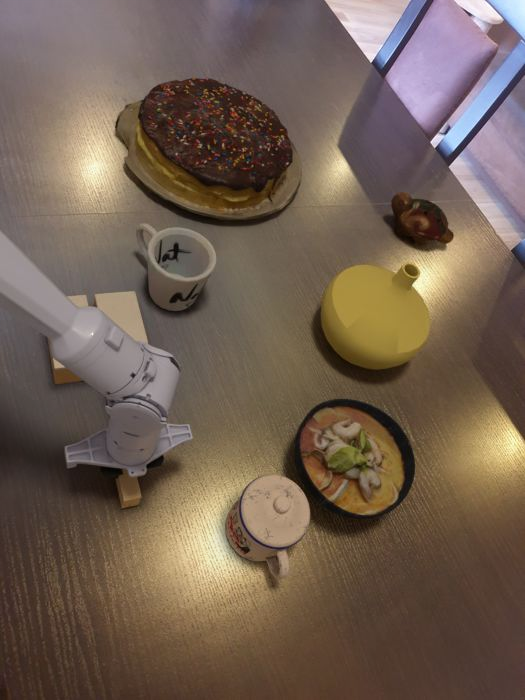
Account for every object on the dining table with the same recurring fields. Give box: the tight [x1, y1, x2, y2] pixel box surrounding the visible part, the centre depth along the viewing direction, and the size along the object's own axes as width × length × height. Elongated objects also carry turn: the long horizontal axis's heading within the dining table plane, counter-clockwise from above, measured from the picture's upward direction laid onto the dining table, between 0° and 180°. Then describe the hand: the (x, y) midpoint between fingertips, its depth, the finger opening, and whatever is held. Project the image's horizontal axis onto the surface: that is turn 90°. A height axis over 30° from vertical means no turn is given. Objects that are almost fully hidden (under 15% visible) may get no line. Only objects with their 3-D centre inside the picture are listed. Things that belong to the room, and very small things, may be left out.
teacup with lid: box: [225, 474, 311, 581], centre depth 71 cm, size 12×9×12 cm
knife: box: [105, 397, 142, 509], centre depth 75 cm, size 18×2×3 cm, turn 18°
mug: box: [135, 222, 217, 312], centre depth 89 cm, size 10×15×10 cm
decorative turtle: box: [390, 192, 455, 246], centre depth 115 cm, size 10×15×8 cm, turn 78°
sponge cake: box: [46, 290, 149, 385], centre depth 82 cm, size 13×12×5 cm
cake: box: [114, 77, 303, 221], centre depth 109 cm, size 37×37×10 cm
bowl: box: [293, 398, 416, 521], centre depth 80 cm, size 17×17×10 cm
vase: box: [320, 261, 431, 370], centre depth 91 cm, size 18×18×19 cm
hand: (124, 469), depth 73 cm, fingers closed on knife, 2 cm apart
